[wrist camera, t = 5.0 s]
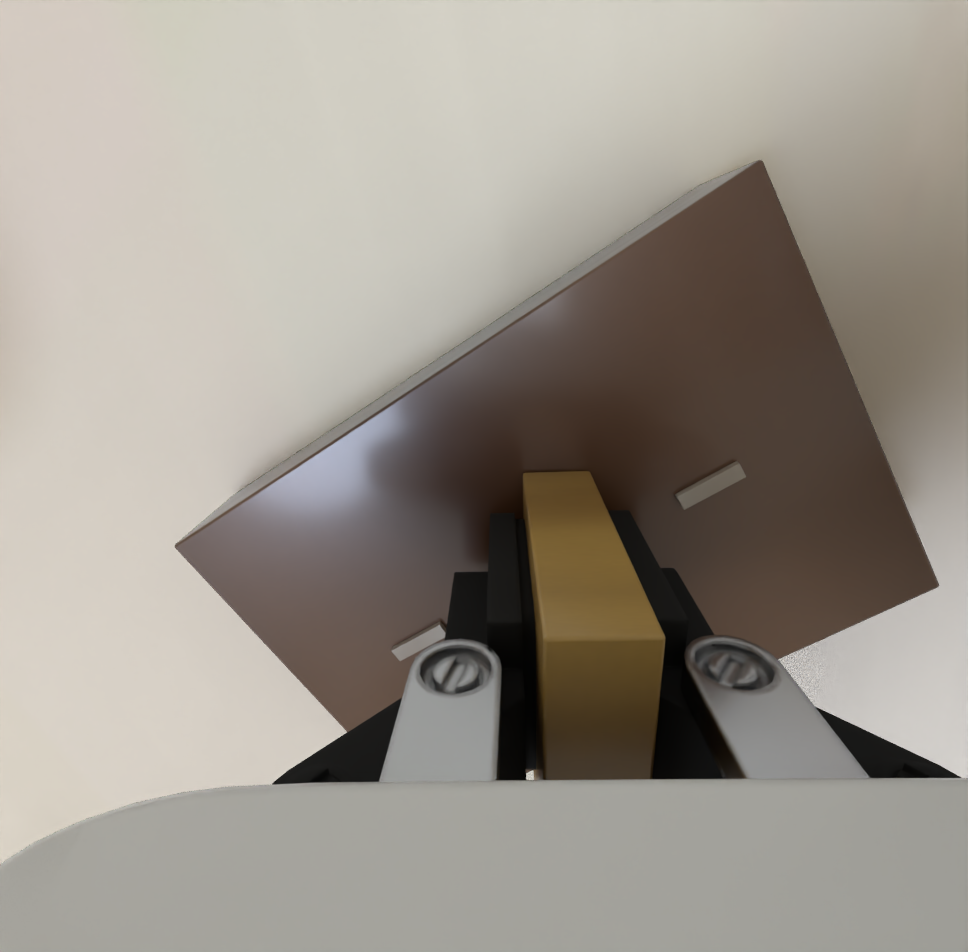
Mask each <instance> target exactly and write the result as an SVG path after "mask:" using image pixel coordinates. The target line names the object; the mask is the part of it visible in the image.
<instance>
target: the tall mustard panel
mask: <svg viewBox="0 0 968 952" xmlns="http://www.w3.org/2000/svg"><path fill="white" fill-rule="evenodd" d="M523 519H524V520H525V529H526V538H527V548H528V557H529V566H530V576H531V585H532V595H533V604H534V613H535V630H536V770H534V780H623V779H652V775H653V764H654V754H655V743H656V733H657V722H658V712H659V701H660V691H661V680H662V670H663V659H664V649H665V635H664V633H663V631H662V629H661V627H660V624H659V622H658V620H657V618H656V616H655V613H654V611H653V609H652V607H651V605H650V603H649V600H648V598H647V596H646V594H645V592H644V589H643V587H642V585H641V583H640V581H639V578H638V576H637V574H636V572H635V570H634V567H633V565H632V563H631V561H630V559H629V556H628V554H627V552H626V550H625V548H624V546H623V543H622V541H621V539H620V537H619V535H618V532H617V530H616V528H615V526H614V524H613V521H612V519H611V517H610V515H609V513H608V510H607V508H606V506H605V504H604V502H603V500H602V497H601V495H600V493H599V491H598V489H597V486H596V484H595V482H594V480H593V478H592V475H591V473H590V472H589V471H572V472H535V473H524V474H523Z"/></svg>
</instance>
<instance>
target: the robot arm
mask: <svg viewBox="0 0 968 952" xmlns="http://www.w3.org/2000/svg"><path fill="white" fill-rule="evenodd" d="M608 513H609V515H610V517H611V519H612V521H613V524H614V526H615V528H616V530H617V532H618V535H619V537H620V539H621V541H622V543H623V546H624V548H625V550H626V552H627V554H628V556H629V559H630V561H631V563H632V565H633V567H634V570H635V572H636V574H637V576H638V578H639V581H640V583H641V585H642V587H643V589H644V592H645V594H646V596H647V598H648V600H649V603H650V605H651V607H652V609H653V611H654V613H655V616H656V618H657V620H658V622H659V624H660V627H661V629H662V631H663V633H664V635H665V649H664V659H663V670H662V680H661V691H660V701H659V712H658V722H657V733H656V743H655V754H654V764H653V775H652V779H623V780H526V770H536V630H535V613H534V604H533V595H532V585H531V576H530V566H529V557H528V548H527V538H526V529H525V520H524V519H515V513H490V527H489V559H488V571H483V572H455V573H454V578H453V585H452V592H451V599H450V606H449V613H448V620H447V627H446V634H445V641H442V642H439V643H435V644H433V645H431V646H430V647H428V648H426V649H424V650H423V651H422V652H421V653H420V654H419V655H418V656H417V657H416V658H415V659H414V661H413V663H412V665H411V667H410V671H409V675H408V678H407V682H406V685H405V689H404V693H403V696H402V698H400V699H399V700H397V701H396V702H394V703H392V704H391V705H389V706H388V707H386V708H385V709H383V710H382V711H380V712H378V713H377V714H375V715H374V716H372V717H371V718H369V719H368V720H366V721H364V722H363V723H361V724H360V725H358V726H357V727H355V728H354V729H352V730H350V731H349V732H347V733H346V734H344V735H343V736H341V737H340V738H338V739H336V740H335V741H333V742H332V743H330V744H329V745H327V746H326V747H324V748H322V749H321V750H319V751H318V752H316V753H315V754H313V755H312V756H310V757H309V758H307V759H305V760H304V761H302V762H301V763H299V764H298V765H296V766H295V767H293V768H291V769H290V770H288V771H287V772H286V773H285V774H283V775H282V776H281V777H280V778H278V779H277V780H276V781H275V782H274V783H273V784H272V785H253V786H231V787H221V788H213V789H205V790H197V791H189V792H182V793H177V794H173V795H168V796H164V797H159V798H154V799H150V800H145V801H141V802H136V803H133V804H130V805H127V806H124V807H121V808H118V809H115V810H112V811H109V812H106V813H103V814H100V815H97V816H94V817H91V818H87V819H85V820H83V821H80V822H78V823H75V824H73V825H71V826H68V827H66V828H63V829H61V830H59V831H57V832H55V833H53V834H51V835H49V836H46V837H44V838H42V839H40V840H38V841H36V842H34V843H32V844H31V845H29V846H28V847H26V848H24V849H23V850H21V851H20V852H18V853H16V854H15V855H13V856H11V857H10V858H8V859H7V860H5V861H4V862H3V863H2V864H0V952H968V778H961V777H959V776H957V775H956V774H954V773H952V772H950V771H949V770H947V769H945V768H943V767H941V766H940V765H937V764H935V763H933V762H931V761H929V760H927V759H925V758H923V757H921V756H918V755H916V754H914V753H912V752H910V751H908V750H906V749H904V748H901V747H899V746H897V745H895V744H893V743H891V742H889V741H887V740H884V739H882V738H880V737H878V736H876V735H874V734H872V733H870V732H868V731H865V730H863V729H861V728H859V727H857V726H855V725H853V724H851V723H848V722H846V721H844V720H842V719H840V718H838V717H836V716H834V715H831V714H829V713H827V712H825V711H823V710H821V709H819V708H817V707H815V706H814V705H813V704H812V702H811V701H810V700H809V699H808V697H807V696H806V695H805V693H804V692H803V691H802V690H801V688H800V687H799V686H798V684H797V683H796V682H795V681H794V679H793V678H792V677H791V675H790V674H789V673H788V672H787V670H786V669H785V668H784V666H783V665H782V664H781V663H780V661H779V660H778V659H777V658H775V657H774V656H773V655H772V654H771V653H770V652H769V651H767V650H766V649H764V648H762V647H761V646H759V645H757V644H755V643H752V642H750V641H747V640H745V639H742V638H737V637H733V636H729V635H714V633H713V631H712V630H711V628H710V626H709V625H708V623H707V621H706V620H705V618H704V616H703V614H702V613H701V611H700V609H699V608H698V606H697V604H696V603H695V601H694V599H693V598H692V596H691V594H690V593H689V591H688V589H687V588H686V586H685V584H684V582H683V581H682V579H681V577H680V576H679V574H678V572H677V571H676V570H675V569H674V568H660V566H659V564H658V562H657V561H656V559H655V557H654V555H653V553H652V551H651V550H650V548H649V546H648V544H647V542H646V540H645V539H644V537H643V535H642V533H641V531H640V529H639V528H638V526H637V524H636V522H635V520H634V518H633V516H632V515H631V513H630V511H629V510H608Z"/></svg>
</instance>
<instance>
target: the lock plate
mask: <svg viewBox="0 0 968 952" xmlns="http://www.w3.org/2000/svg"><path fill="white" fill-rule="evenodd" d="M572 471H589V472H590V473H591V475H592V478H593V480H594V482H595V484H596V486H597V489H598V491H599V493H600V495H601V497H602V500H603V502H604V504H605V506H606V508H607V510H629V511H630V513H631V515H632V516H633V518H634V520H635V522H636V524H637V526H638V528H639V529H640V531H641V533H642V535H643V537H644V539H645V540H646V542H647V544H648V546H649V548H650V550H651V551H652V553H653V555H654V557H655V559H656V561H657V562H658V564H659V566H660V568H674V569H675V570H676V571H677V572H678V574H679V576H680V577H681V579H682V581H683V582H684V584H685V586H686V588H687V589H688V591H689V593H690V594H691V596H692V598H693V599H694V601H695V603H696V604H697V606H698V608H699V609H700V611H701V613H702V614H703V616H704V618H705V620H706V621H707V623H708V625H709V626H710V628H711V630H712V631H713V633H714V635H729V636H733V637H737V638H742V639H745V640H747V641H750V642H752V643H755V644H757V645H759V646H761V647H762V648H764V649H766V650H767V651H769V652H770V653H771V654H772V655H773V656H774V657H775V658H777V659H780V658H782V657H784V656H787V655H789V654H791V653H793V652H795V651H798V650H800V649H802V648H804V647H807V646H809V645H811V644H813V643H815V642H818V641H820V640H822V639H824V638H826V637H829V636H831V635H833V634H835V633H838V632H840V631H842V630H844V629H846V628H849V627H851V626H853V625H855V624H857V623H860V622H862V621H864V620H866V619H869V618H871V617H873V616H875V615H877V614H880V613H882V612H884V611H886V610H888V609H891V608H893V607H895V606H897V605H900V604H902V603H904V602H906V601H908V600H911V599H913V598H915V597H917V596H919V595H922V594H924V593H926V592H928V591H931V590H933V589H935V588H937V587H938V586H939V583H938V581H937V579H936V576H935V574H934V571H933V569H932V567H931V564H930V562H929V559H928V557H927V555H926V552H925V550H924V547H923V545H922V543H921V540H920V538H919V535H918V533H917V531H916V528H915V526H914V523H913V521H912V519H911V516H910V514H909V511H908V509H907V507H906V504H905V502H904V499H903V497H902V495H901V492H900V490H899V487H898V485H897V483H896V480H895V478H894V475H893V473H892V471H891V468H890V466H889V463H888V461H887V459H886V456H885V454H884V451H883V449H882V447H881V444H880V442H879V439H878V437H877V435H876V432H875V430H874V427H873V425H872V423H871V420H870V418H869V415H868V413H867V411H866V408H865V406H864V403H863V401H862V399H861V396H860V394H859V391H858V389H857V387H856V384H855V382H854V379H853V377H852V375H851V372H850V370H849V367H848V365H847V363H846V360H845V358H844V355H843V353H842V351H841V348H840V346H839V343H838V341H837V339H836V336H835V334H834V331H833V329H832V327H831V324H830V322H829V319H828V317H827V315H826V312H825V310H824V307H823V305H822V303H821V300H820V298H819V295H818V293H817V291H816V288H815V286H814V283H813V281H812V279H811V276H810V274H809V271H808V269H807V267H806V264H805V262H804V259H803V257H802V255H801V252H800V250H799V247H798V245H797V243H796V240H795V238H794V235H793V233H792V231H791V228H790V226H789V223H788V221H787V219H786V216H785V214H784V211H783V209H782V207H781V204H780V202H779V199H778V197H777V195H776V192H775V190H774V187H773V185H772V183H771V180H770V178H769V175H768V173H767V171H766V168H765V166H764V163H763V162H762V161H761V160H758V161H755V162H753V163H750V164H748V165H746V166H743V167H741V168H739V169H736V170H734V171H732V172H729V173H727V174H725V175H722V176H720V177H717V178H715V179H713V180H710V181H708V182H706V183H703V184H701V185H699V186H697V187H696V188H694V189H693V190H691V191H690V192H688V193H687V194H685V195H684V196H682V197H681V198H679V199H678V200H676V201H675V202H673V203H672V204H670V205H669V206H667V207H666V208H664V209H663V210H661V211H660V212H658V213H657V214H655V215H654V216H652V217H651V218H649V219H648V220H646V221H645V222H643V223H642V224H640V225H639V226H637V227H636V228H634V229H633V230H631V231H630V232H628V233H627V234H625V235H624V236H622V237H621V238H619V239H618V240H616V241H615V242H613V243H612V244H610V245H609V246H607V247H606V248H604V249H603V250H601V251H600V252H598V253H597V254H595V255H594V256H592V257H591V258H589V259H588V260H586V261H585V262H583V263H582V264H580V265H579V266H577V267H576V268H574V269H573V270H571V271H570V272H568V273H567V274H565V275H564V276H562V277H561V278H559V279H558V280H556V281H555V282H553V283H552V284H550V285H549V286H547V287H546V288H544V289H542V290H541V291H539V292H538V293H536V294H535V295H533V296H532V297H530V298H529V299H527V300H526V301H524V302H523V303H521V304H520V305H518V306H517V307H515V308H514V309H512V310H511V311H509V312H508V313H506V314H505V315H503V316H502V317H500V318H499V319H497V320H496V321H494V322H493V323H491V324H490V325H488V326H487V327H485V328H484V329H482V330H481V331H479V332H478V333H476V334H475V335H473V336H472V337H470V338H469V339H467V340H466V341H464V342H463V343H461V344H460V345H458V346H457V347H455V348H454V349H452V350H451V351H449V352H448V353H446V354H445V355H443V356H442V357H440V358H439V359H437V360H436V361H434V362H433V363H431V364H430V365H428V366H427V367H425V368H424V369H422V370H421V371H419V372H418V373H416V374H415V375H413V376H412V377H410V378H409V379H407V380H406V381H404V382H403V383H401V384H400V385H398V386H397V387H395V388H394V389H392V390H391V391H389V392H388V393H386V394H385V395H383V396H382V397H380V398H379V399H377V400H376V401H374V402H372V403H371V404H369V405H368V406H366V407H365V408H363V409H362V410H360V411H359V412H357V413H356V414H354V415H353V416H351V417H350V418H348V419H347V420H345V421H344V422H342V423H341V424H339V425H338V426H336V427H335V428H333V429H332V430H330V431H329V432H327V433H326V434H324V435H323V436H321V437H320V438H318V439H317V440H315V441H314V442H312V443H311V444H309V445H308V446H306V447H305V448H303V449H302V450H300V451H299V452H297V453H296V454H294V455H293V456H291V457H290V458H288V459H287V460H285V461H284V462H282V463H281V464H279V465H278V466H276V467H275V468H273V469H272V470H270V471H269V472H267V473H266V474H264V475H263V476H261V477H260V478H258V479H257V480H255V481H254V482H252V483H251V484H249V485H248V486H246V487H245V488H243V489H242V490H240V491H239V492H237V493H236V494H234V495H233V496H232V497H230V498H229V499H228V500H227V501H226V502H225V503H223V504H222V505H221V506H220V507H219V508H218V509H216V510H215V511H214V512H213V513H212V514H210V515H209V516H208V517H207V518H206V519H205V520H203V521H202V522H201V523H200V524H199V525H197V526H196V527H195V528H194V529H193V530H192V531H190V532H189V533H188V534H187V535H186V536H185V537H183V538H182V539H181V540H180V541H179V542H177V543H176V545H175V548H176V549H177V550H178V551H179V552H180V553H181V554H182V556H183V557H184V558H185V559H186V560H187V561H188V562H189V563H190V564H191V565H192V566H193V567H194V568H195V569H196V571H197V572H198V573H199V574H200V575H201V576H202V577H203V578H204V579H205V580H206V581H207V582H208V583H209V584H210V586H211V587H212V588H213V589H214V590H215V591H216V592H217V593H218V594H219V595H220V596H221V597H222V598H223V599H224V600H225V602H226V603H227V604H228V605H229V606H230V607H231V608H232V609H233V610H234V611H235V612H236V613H237V614H238V615H239V617H240V618H241V619H242V620H243V621H244V622H245V623H246V624H247V625H248V626H249V627H250V628H251V629H252V630H253V631H254V633H255V634H256V635H257V636H258V637H259V638H260V639H261V640H262V641H263V642H264V643H265V644H266V645H267V646H268V648H269V649H270V650H271V651H272V652H273V653H274V654H275V655H276V656H277V657H278V658H279V659H280V660H281V661H282V663H283V664H284V665H285V666H286V667H287V668H288V669H289V670H290V671H291V672H292V673H293V674H294V675H295V676H296V677H297V679H298V680H299V681H300V682H301V683H302V684H303V685H304V686H305V687H306V688H307V689H308V690H309V691H310V692H311V694H312V695H313V696H314V697H315V698H316V699H317V700H318V701H319V702H320V703H321V704H322V705H323V706H324V707H325V708H326V710H327V711H328V712H329V713H330V714H331V715H332V716H333V717H334V718H335V719H336V720H337V721H338V722H339V723H340V725H341V726H342V727H343V728H344V729H345V730H346V731H347V732H349V731H350V730H352V729H354V728H355V727H357V726H358V725H360V724H361V723H363V722H364V721H366V720H368V719H369V718H371V717H372V716H374V715H375V714H377V713H378V712H380V711H382V710H383V709H385V708H386V707H388V706H389V705H391V704H392V703H394V702H396V701H397V700H399V699H400V698H402V696H403V693H404V689H405V685H406V682H407V678H408V675H409V671H410V667H411V665H412V663H413V661H414V659H415V658H416V657H417V656H418V655H419V654H420V653H421V652H422V651H423V650H424V649H426V648H428V647H430V646H431V645H433V644H435V643H439V642H442V641H445V634H446V627H447V620H448V613H449V606H450V599H451V592H452V585H453V578H454V573H455V572H483V571H488V559H489V527H490V513H515V519H523V474H524V473H535V472H572ZM530 771H532V770H526V773H527V772H530Z"/></svg>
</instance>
